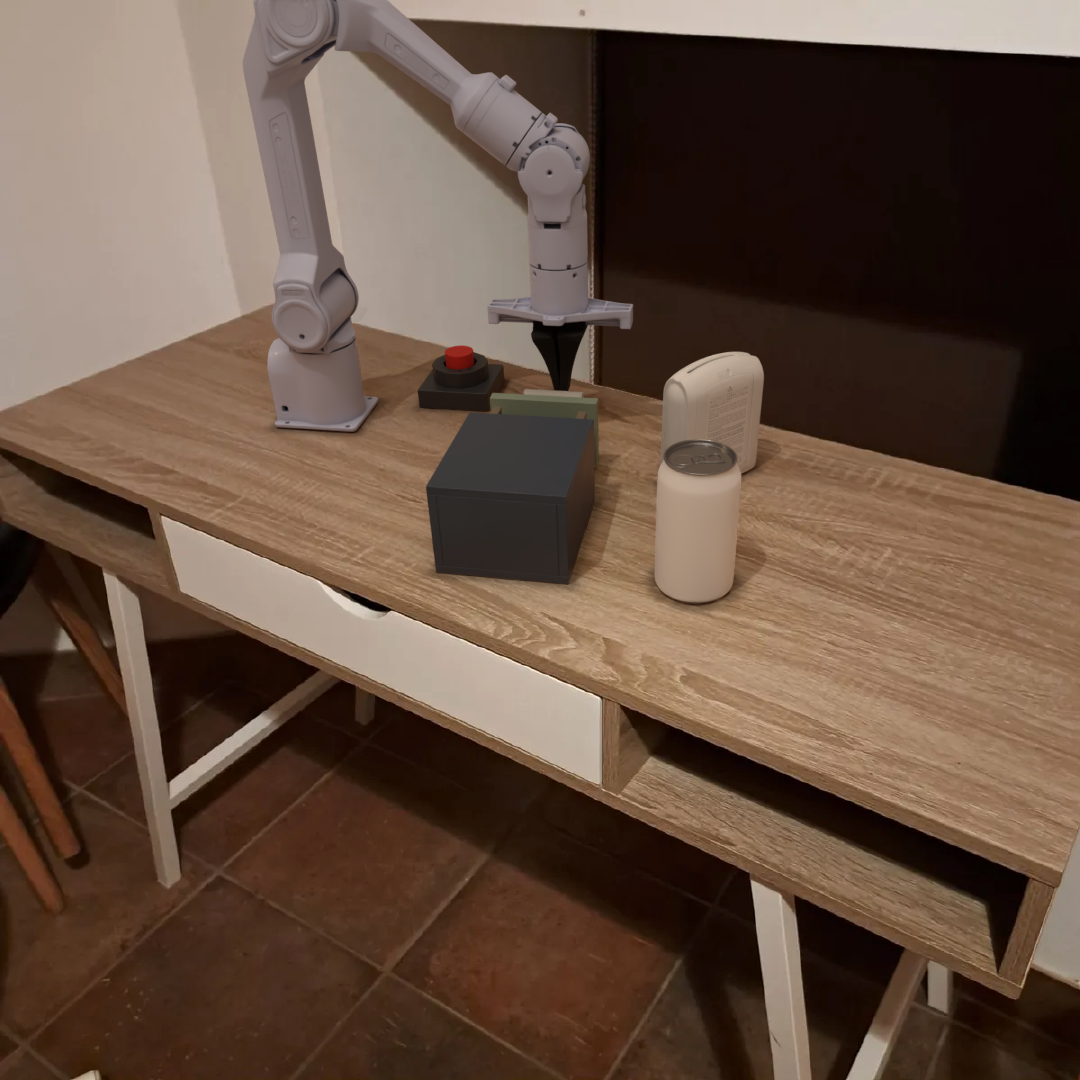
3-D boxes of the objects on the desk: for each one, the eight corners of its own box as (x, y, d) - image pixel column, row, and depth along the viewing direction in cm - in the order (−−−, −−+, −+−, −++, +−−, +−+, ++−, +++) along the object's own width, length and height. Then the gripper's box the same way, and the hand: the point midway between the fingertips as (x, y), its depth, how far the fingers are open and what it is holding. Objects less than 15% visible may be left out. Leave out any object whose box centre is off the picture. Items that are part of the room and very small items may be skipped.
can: (648, 564, 86) (651, 439, 80) (722, 557, 87) (731, 433, 80) (662, 609, 81) (666, 480, 74) (741, 603, 81) (753, 473, 75)
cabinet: (476, 492, 98) (469, 412, 93) (594, 501, 95) (593, 419, 91) (435, 572, 87) (425, 486, 82) (568, 584, 84) (566, 496, 80)
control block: (419, 407, 114) (415, 375, 112) (439, 378, 120) (436, 346, 118) (488, 411, 112) (485, 378, 110) (504, 381, 119) (502, 349, 117)
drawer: (507, 432, 106) (503, 372, 102) (605, 438, 104) (605, 377, 100) (464, 519, 92) (457, 453, 88) (576, 528, 90) (575, 461, 86)
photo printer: (732, 452, 102) (741, 336, 96) (762, 468, 99) (773, 350, 92) (652, 483, 98) (655, 364, 91) (681, 501, 95) (687, 380, 88)
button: (442, 370, 113) (441, 355, 112) (450, 359, 116) (449, 344, 115) (470, 371, 113) (469, 357, 112) (477, 360, 115) (476, 345, 114)
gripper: (476, 273, 97) (486, 401, 104) (626, 277, 94) (625, 409, 102) (493, 250, 103) (502, 373, 110) (636, 253, 100) (634, 380, 107)
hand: (562, 389), depth 106 cm, fingers closed
